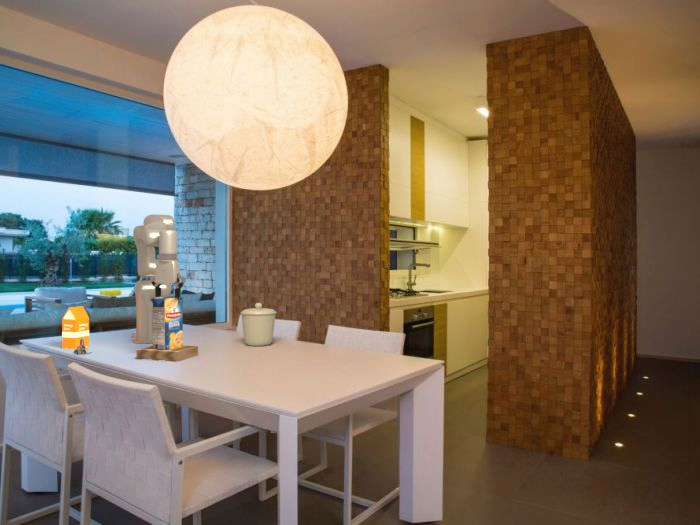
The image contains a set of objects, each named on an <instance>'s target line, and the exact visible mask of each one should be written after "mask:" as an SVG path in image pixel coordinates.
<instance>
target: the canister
mask: <svg viewBox="0 0 700 525" xmlns="http://www.w3.org/2000/svg"><path fill="white" fill-rule="evenodd" d="M254 307H255V308H253V307H252V308H251V307H250V308H246V309H242V311H240V315H241V322H242V333H243V338H244V343H245V344H246V345H248V346H250V347H265V346H269V345H271V343H272V342H273V338H274V330H275V320H276V314H277V311H276V310H275V309H273V308H267V307H263V304H262V303H261V302H257V303H255V305H254Z"/></svg>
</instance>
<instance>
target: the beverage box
mask: <svg viewBox="0 0 700 525" xmlns="http://www.w3.org/2000/svg"><path fill="white" fill-rule="evenodd" d="M183 301H184V300H183V297H182V296H180V297H178V298H175V296H169V297H161V298H153V299H152V302H153V343H152V346H153V349H156V350H169V349H174V348H179V347H183V346H184V342H183V341H184V340H183V339H184V338H183V336H184V335H183V334H184V333H183V332H184V331H183V330H184V329H183V327H184V324H183V323H184V322H183V318H184V317H183V316H184V315H183V310H184V309H183V307H184V304H183V303H184V302H183Z"/></svg>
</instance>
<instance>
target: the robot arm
mask: <svg viewBox="0 0 700 525" xmlns="http://www.w3.org/2000/svg"><path fill="white" fill-rule="evenodd" d="M175 228H176V221H175V218H174V217H173V216H172V215H170V214H149V215H146V216H145V217H144V219H143V223H142V224H140V225H137V226H135V227H134V228H133V231H132V233H133V234H132V236H133V240H134V243H135V246H136V249H137V274H138V276H139V277H140V278H145V279H146V278H149V279H146V280H145V279H144V280H139V281H137V282H136V283H135V284H134V294H135V302H136V303H135V304H136V307H135V308H136V310H135V311H136V314H135V315H136V319H135V321H136V324H135V325H136V326H135V327H136V332H135V333H131V335H130V338H134V339H133V341H132V343H134V344H139V343H142V344H144V343H145V344H153V298H161V297H171V296H170V295H171V291H172V290H171V287H172V286H171V285H173V286H175V289H174V297H175V298H178V297H181V294H182V291H181V290H182V287H184V285H185V283H186V280H187V278H185V276H183V275H182V274H181V269H180V265H179V261H178V233H177V231H176V230H175ZM155 247H158V254H157V255H156V249H155ZM142 344H141V345H142ZM145 344H144V345H145Z"/></svg>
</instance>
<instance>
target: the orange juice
mask: <svg viewBox="0 0 700 525" xmlns="http://www.w3.org/2000/svg"><path fill="white" fill-rule="evenodd" d="M61 324H62V325H61V328H62V329H61V330H62V332H61V337H62V339H61V341H62V342H61V343H62V344H61V345H62V346H61V347H62V348H73V349H72V350H75V349H76V348H77V347H78V346H79V345H80V340H81V338H83V339H84V341H85V342H84V345H85V346H89V347H90V317H89V314H87V311H86V310H85V308H84V306H83V305H82V306H72V307H68V309H67V311H66V312H65V314H64V315H63V317H62V320H61Z"/></svg>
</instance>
